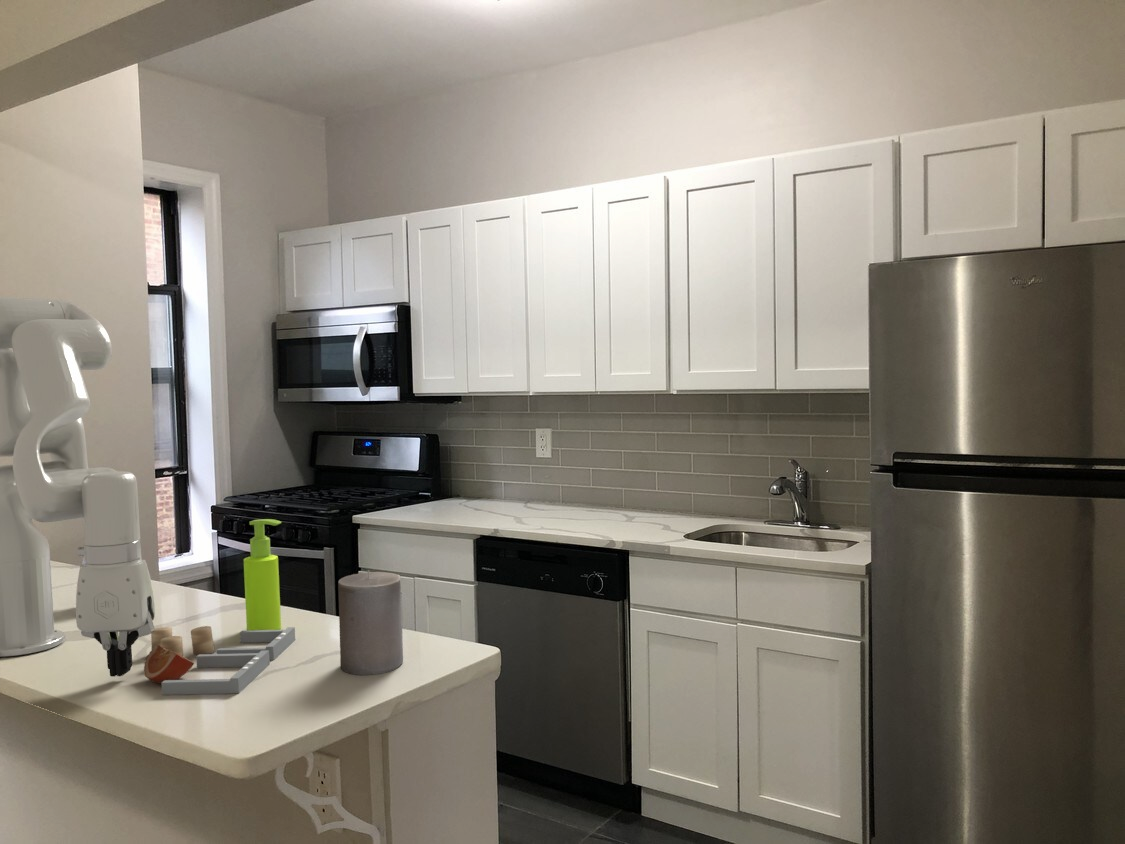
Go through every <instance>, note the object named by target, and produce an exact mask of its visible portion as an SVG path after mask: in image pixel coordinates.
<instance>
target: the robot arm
mask: <svg viewBox="0 0 1125 844" xmlns="http://www.w3.org/2000/svg"><path fill="white" fill-rule="evenodd" d="M11 349H12V350H11ZM112 354H113V346H112V342H111V338H110V336H109V333H108V331H107V329H106V328H105V327H104V325H102V323H101V322H100V321H99V320H98V319H96V318H95V317H94V316H93V315H91V314H90V313H88V312H87V311H85V310H84V309H82V307H79V306H78V305H77V304H75V303H73V302H70V301H68V300H62V299H49V298H48V299H45V298H28V297H27V298H24V297H10V296H9V297H8V296H5V297H4V296H0V458H1V457H3V458H5V457H8V458H9V457H12V464H5V465H0V658H1V657H2V658H3V657H6V658H7V657H14V656H23V655H29V654H33V653H38V652H42V651H46V650H49V649H53V648H54V647H57V646H59V645H61V644H63V643H64V641H66V633H65V632H64V631H62V630H58V629H55V621H54V619H55V618H54V601H53V588H52V587H53V586H52V585H53V584H52V572H51V570H52V568H51V567H52V566H51V552H50V543H49V541H48V538H47V536H46V535H45V534H44V533H43V531H41V530H40V528H39V527H37V526H36V524H34V522H33V520H34V521H35V522H39V523H53V522H60V521H61V522H62V521H68V520H75V519H76V520H77V519H83V521H82V522H83V535H84V544H83V546H79V547H77V549H76V552H77V553H76V554H77V555H78V557H85V561H86V564H83V565H82V564H81V565H80V567H79V571H78V577H77V582H76V594H75V595H76V597H75V621H76V622H75V623H76V627H77V629H78V631H80V633H81V635H82V636H83V637H86V638H91V639H95V640H96V641H97V642H98V643H99V644H101V646H102V649H103V650H104V651H106V659H107V660H106V661H107V663H106V664H107V665H106V666H107V669H108V670H109V677H123V676H124V675H125V674H127V673H129V672H130V671H131V669H132V666H133V655H132V654H133V652H132V646H133V645H135V642H136V641H137V640H138V638H142V637H145V636H149V635H151V633H153V632H154V631H155V629H156V628H155V625H154V622H153V621H154V619H155V614H156V613H155V611H156V610H155V600H154V590H153V585H152V584H153V583H152V579H151V574H150V572H149V568H148V563H147V562H146V561H147V560H146V559H142V545H141V531H140V530H141V529H140V527H141V525H140V512H139V511H140V509H139V493H138V491H139V490H138V480H137V478H136V475H134V473H133V472H130V471H125V470H123V471H122V470H115V469H114V468H111V467H106V466H105V467H103V466H102V467H101V466H100V467H89V464H88V463H89V462H88V461H89V460H88V451H87V440H86V432H85V425H84V421H83V417H84V416H85V415H86V414H87V413H88V412H89V410H90V408H91V400H90V396H89V393H88V390H87V386H86V383H85V380H84V376H83V374H82V371H98V370H102V369H104V368H106V367H107V366H108V365H109V364H110V361H111V360H112V359H111V358H112ZM41 455H49V456H50V459H51V460H50V461H42V459H41Z"/></svg>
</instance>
